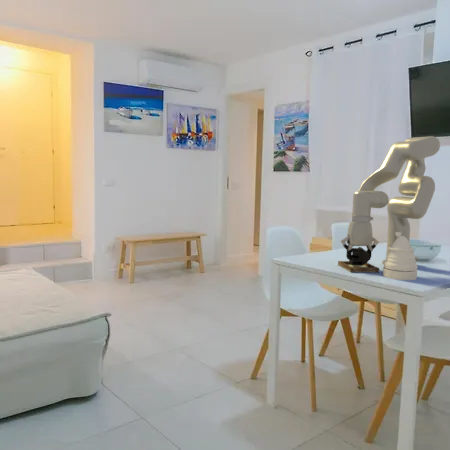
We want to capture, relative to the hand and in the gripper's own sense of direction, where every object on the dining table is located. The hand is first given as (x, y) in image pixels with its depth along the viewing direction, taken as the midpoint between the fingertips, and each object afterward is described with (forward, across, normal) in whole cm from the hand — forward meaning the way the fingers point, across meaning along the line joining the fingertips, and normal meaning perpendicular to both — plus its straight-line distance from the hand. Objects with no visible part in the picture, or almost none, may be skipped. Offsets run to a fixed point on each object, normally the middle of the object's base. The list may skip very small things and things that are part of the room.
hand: (358, 259), depth 195 cm
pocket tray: (+4, 0, 0) cm, 4 cm away
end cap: (+2, 0, 0) cm, 2 cm away
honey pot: (+4, -11, +15) cm, 19 cm away
